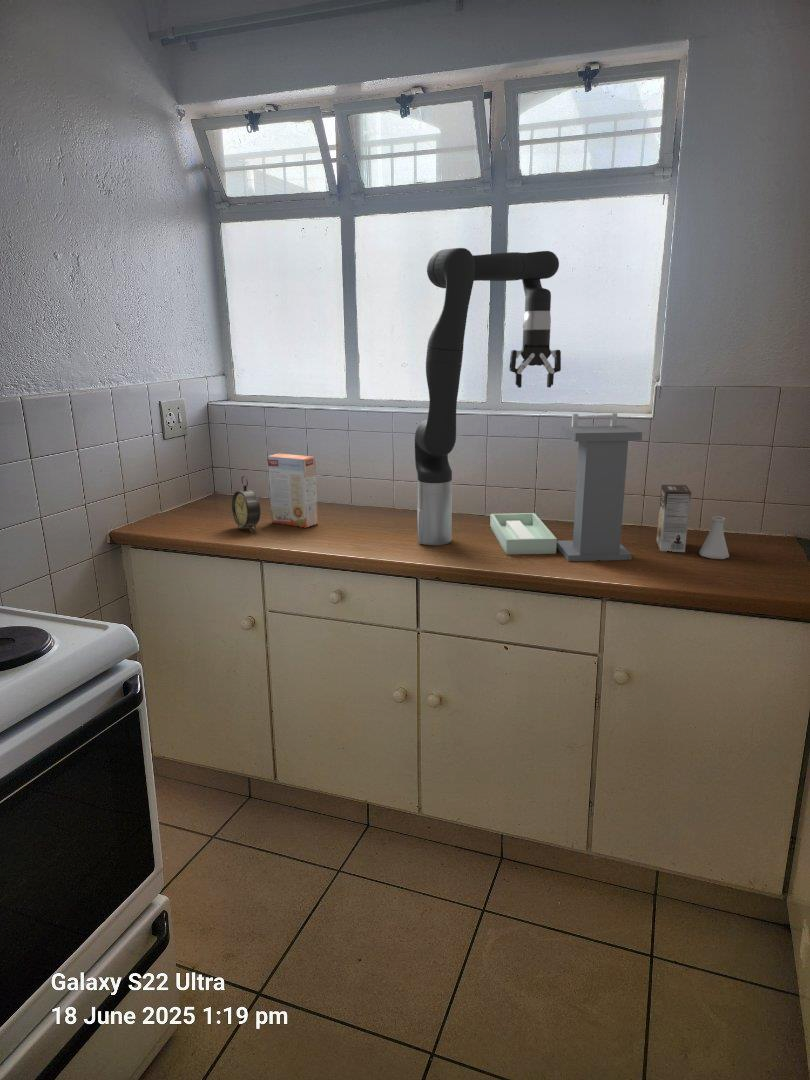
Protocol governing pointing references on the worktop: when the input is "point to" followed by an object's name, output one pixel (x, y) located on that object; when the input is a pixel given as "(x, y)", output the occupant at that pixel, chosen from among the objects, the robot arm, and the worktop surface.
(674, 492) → the coffee box
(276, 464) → the cracker box
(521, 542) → the tray
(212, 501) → the worktop surface
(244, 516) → the alarm clock
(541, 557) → the worktop surface
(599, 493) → the grey pedestal stand
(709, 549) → the flask
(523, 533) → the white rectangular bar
